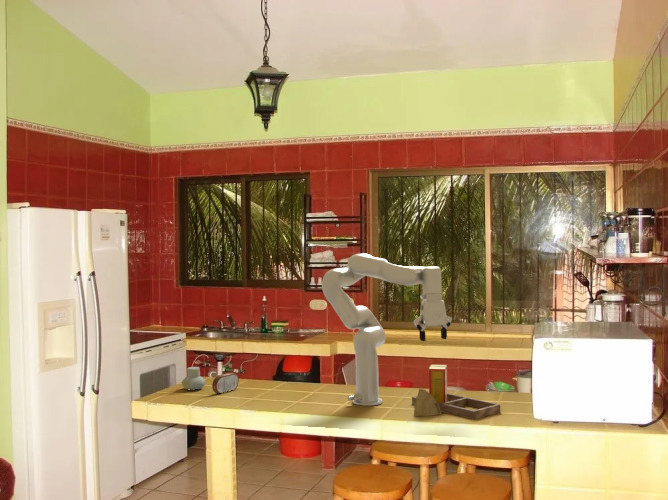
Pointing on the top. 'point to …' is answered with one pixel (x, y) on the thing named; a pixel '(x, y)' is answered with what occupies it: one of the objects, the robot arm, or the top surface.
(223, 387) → the tin
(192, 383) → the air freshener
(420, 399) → the rock
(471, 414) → the divided brown tray
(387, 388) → the top surface
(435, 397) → the baking soda box
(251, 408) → the top surface
